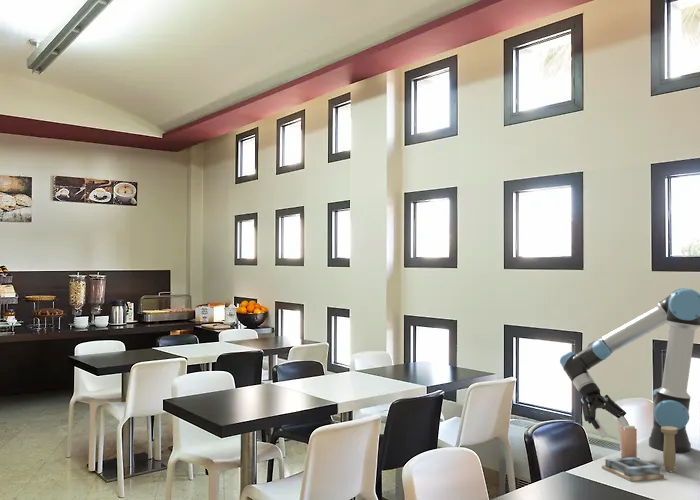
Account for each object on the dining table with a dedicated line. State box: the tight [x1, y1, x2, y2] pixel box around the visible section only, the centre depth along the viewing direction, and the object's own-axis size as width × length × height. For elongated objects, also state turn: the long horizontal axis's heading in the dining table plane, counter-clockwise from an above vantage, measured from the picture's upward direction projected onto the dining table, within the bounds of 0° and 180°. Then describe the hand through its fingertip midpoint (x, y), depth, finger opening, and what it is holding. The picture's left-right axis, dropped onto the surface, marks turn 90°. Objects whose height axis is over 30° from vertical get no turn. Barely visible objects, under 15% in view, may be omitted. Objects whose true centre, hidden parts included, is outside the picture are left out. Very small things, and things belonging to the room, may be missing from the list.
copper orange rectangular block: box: [620, 425, 638, 458], centre depth 227 cm, size 5×5×13 cm
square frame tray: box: [601, 456, 665, 482], centre depth 213 cm, size 14×14×4 cm
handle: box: [661, 426, 678, 473], centre depth 216 cm, size 5×6×15 cm
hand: (617, 434), depth 230 cm, fingers open, 13 cm apart
